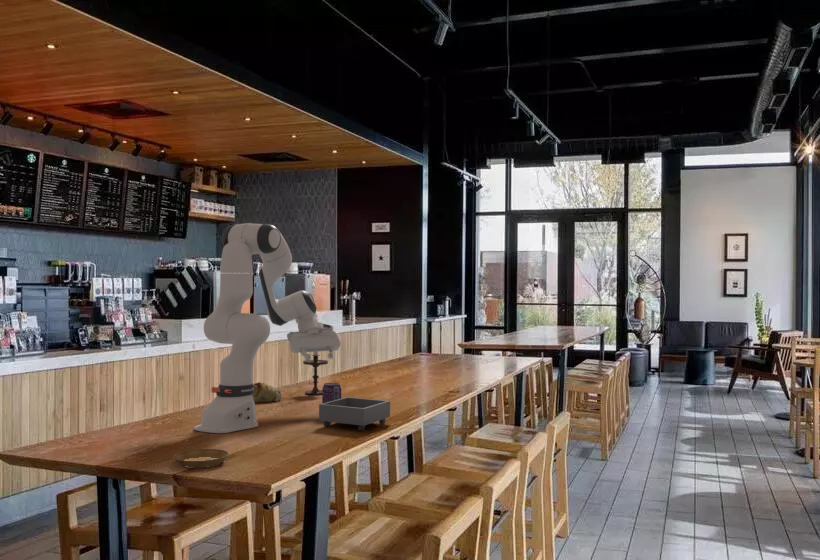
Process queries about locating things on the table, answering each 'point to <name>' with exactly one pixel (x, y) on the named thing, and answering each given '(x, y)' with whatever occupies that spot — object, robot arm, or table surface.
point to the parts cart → (354, 411)
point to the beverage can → (331, 392)
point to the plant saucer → (201, 453)
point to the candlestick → (315, 373)
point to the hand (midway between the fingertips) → (319, 358)
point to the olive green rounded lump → (265, 393)
